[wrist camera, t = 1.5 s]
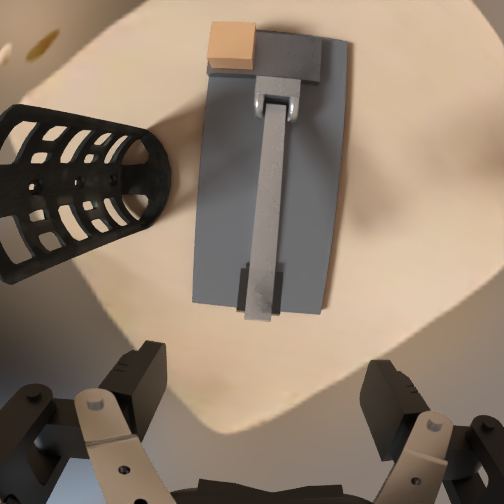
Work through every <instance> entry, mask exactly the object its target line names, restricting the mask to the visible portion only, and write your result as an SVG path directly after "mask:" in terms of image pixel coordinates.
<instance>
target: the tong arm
mask: <svg viewBox="0 0 504 504" xmlns="http://www.w3.org/2000/svg"><path fill="white" fill-rule="evenodd" d="M285 116H286V105H276V104H266V113H265V122H264V132H263V142H262V151H261V161H260V171H259V181H258V190H257V200H256V210H255V220H254V229H253V239H252V249H251V259H250V268H249V269H246V268H241V272H240V281H239V291H238V300H237V309H236V311H237V312H243V313H245V317H244V319H245V320H253V321H264V322H270V321H271V315H275V316H279V315H280V309H281V297H282V284H283V272H277V271H275V265H276V252H277V239H278V226H279V212H280V198H281V183H282V167H283V151H284V134H285Z"/></svg>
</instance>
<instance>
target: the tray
mask: <svg viewBox="0 0 504 504" xmlns="http://www.w3.org/2000/svg"><path fill="white" fill-rule="evenodd" d="M256 32H264V33H277V34H287V35H296V36H304V37H311V38H318V39H322V44H321V66H320V82H319V84H318V85H317V86H315V85H307V84H300V97H299V109H298V116H297V121H296V123H294V122H287V113H288V105H286V116H285V134H284V151H283V167H282V183H281V198H280V212H279V226H278V239H277V252H276V265H275V266H276V271H277V272H283V284H282V297H281V309H280V311H281V312H293V313H306V314H321V308H322V302H323V296H324V290H325V284H326V278H327V271H328V265H329V258H330V251H331V244H332V236H333V229H334V221H335V213H336V204H337V196H338V186H339V176H340V166H341V155H342V143H343V130H344V115H345V97H346V74H347V42H346V41H341V40H335V39H330V38H324V37H317V36H310V35H303V34H295V33H286V32H275V31H262V30H256ZM255 86H256V79H244V78H221V77H209V82H208V90H207V99H206V108H205V117H204V127H203V137H202V148H201V159H200V171H199V183H198V197H197V212H196V228H195V247H194V269H193V297H192V302H193V303H202V304H210V305H219V306H229V307H237V300H238V291H239V281H240V272H241V268H246V263H249V264H250V259H251V249H252V239H253V229H254V220H255V210H256V200H257V190H258V181H259V171H260V161H261V151H262V142H263V132H264V122H265V113H266V104H274V103H264V107H263V116H262V119H253V109H254V97H255ZM276 105H284V104H276Z"/></svg>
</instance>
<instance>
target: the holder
mask: <svg viewBox="0 0 504 504" xmlns="http://www.w3.org/2000/svg"><path fill="white" fill-rule="evenodd" d="M22 121H28V122H37V123H36V125H35V127H34V128H33V129H32V130H31V131H30V133H29V134H28V136H27V137H26V139H25V140H24V142H23V144H22V146H21V148H20V150H19V152H18V154H17V156H16V159H15V161H14V162H13V163H12V164H10V165H0V218H1V217H6V216H11V215H12V217H13V218H14V220H15V223H16V225H17V228H18V230H19V233H20V235H21V237H22V239H23V241H24V243H25V245H26V247H27V248H28V250H29V251H30V253H31V254H32V258H31V259H29V260H26V261H24V262H21V263H19V264H14V263H13V262H12V261H11V260H10V259H9V257H8V255H7V254H6V252H5V250H4V248H3V246H2V244H1V242H0V279H1V281H2V282H4V283H7V284H11V285H13V284H15V283H17V282H19V281H21V280H23V279H26V278H28V277H30V276H32V275H34V274H37V273H39V272H41V271H43V270H46V269H48V268H50V267H53V266H55V265H57V264H60V263H62V262H65V261H67V260H69V259H72V258H74V257H76V256H79V255H81V254H84V253H86V252H88V251H91V250H93V249H96V248H98V247H101V246H103V245H106V244H108V243H111V242H113V241H116V240H118V239H121V238H123V237H126V236H128V235H131V234H134V233H136V232H139V231H142V230H145V229H147V228H149V227H150V226H151V225H152V224H153V223H154V222H155V221H156V220H157V218H158V217H159V215H160V214H161V212H162V211H163V209H164V207H165V205H166V202H167V199H168V195H169V191H170V183H171V169H170V165H169V161H168V156H167V154H166V152H165V150H164V148H163V146H162V144H161V143H160V141H159V140H158V139H157V138H156V136H154V135H153V134H152V133H151V132H150V131H148V130H146V129H142V128H138V127H133V126H129V125H124V124H119V123H115V122H110V121H105V120H100V119H95V118H91V117H86V116H82V115H77V114H72V113H67V112H62V111H56V110H51V109H46V108H41V107H35V106H29V105H23V104H16V105H12V106H11V107H9V108H8V109H7V110H6V111H4V112H3V113H2V114H1V115H0V149H1V147H2V145H3V143H4V141H5V139H6V138H7V136H8V135H9V133H10V132H11V130H12V129H13V128H14V127H15V126H16V125H18V124H19V123H21V122H22ZM55 126H65V127H67V128H66V129H65V130H64V131H63V133H62V134H61V135H60V136H59V137H58V138H57V139H55V140H54V141H45V140H42V139H43V136H44V135H45V134H46V133H47V132H48V130H49V129H51V128H53V127H55ZM82 130H92V131H91V132H90V133H89V134H88V135H87V136H86V137H85V139H84V140H83V141H82V142H81V144H80V145H79V146H78V148H77V149H76V151H75V153H74V155H73V157H72V159H71V161H70V162H68V163H60V158H61V156H62V154H63V151H64V149H65V148H66V146H67V145H68V143H69V142H70V141H71V139H72V138H73V137H74V136H75V135H76V134H77V133H78V132H80V131H82ZM106 133H112V134H111V135H110V136H109V137H108V138H107V139H106V140H105V141H104V142H103V143H102V144H101V145H95V144H94V143H95V141H96V140H97V139H98V138H99V137H100V136H101V135H103V134H106ZM125 135H126V136H128V137H127V138H126V139H125V140H124V141H123V142H122V143H121V144H120V146H119V147H118V148H117V150H116V151H115V153H114V155H113V156H112V158H111V160H110V162H109V163H108V164H105V163H104V160H105V157H106V155H107V153H108V151H109V150H110V148H111V147H112V146H113V144H114V143H115V142H116V141H117V140H118V139H119V138H121V137H122V136H125ZM138 139H140V140H141V141H142V143H143V145H144V146H145V148H146V150H147V151H148V153H149V159H148V162H146V163H145V164H138V165H128V166H122V165H121V163H122V160H123V157H124V155H125V153H126V152H127V150H128V149H129V147H130V146H131V145H132V144H133V143H134V142H135V141H136V140H138ZM38 152H45V153H47V154H48V155H47V157H46V160H45V161H44V162H43V163H31V159H32V156H33V155H34V154H35V153H38ZM88 154H94V157H93V160H92V162H91V163H84V160H85V157H86V155H88ZM75 180H77V184H76V185H75ZM30 184H34V190H29V185H30ZM123 194H139V195H146V196H147V198H148V199H149V200H148V206H147V208H146V209H145V211H144V213H143V215H142V216H141V218H140V219H139V221H138V220H137V219H135V218H134V217H133V216H132V215H131V214H130V213H129V211H128V210H127V209H126V207H125V205H124V203H123V201H122V197H121V195H123ZM105 198H109V199H110V201H111V203H112V205H113V207H114V209H115V210H116V212H117V213H118V214H119V216H120V217H121V218H122V219H123V220H124V221H125V222H126V223H127V225H125V226H120V225H119V224H118V223H116V222H115V221H114V220H113V218H112V217H111V216H110V214H109V213H108V211H107V209H106V207H105V204H104V202H103V201H104V199H105ZM86 201H91V203H92V206H93V209H91V210H84V208H83V202H86ZM63 205H69V206H70V209H71V211H72V214H73V216H74V217H75V219H76V221H77V222H78V224H79V226H80V227H81V228H82V230H83V231H84V232H85V233H86V234H87V236H88V238H86V239H83V240H81V241H78V240H76V239H74V238H73V237H72V236H71V235H70V233H69V232H68V231H67V229H66V227H65V226H64V224H63V223H62V221H61V218H60V215H59V212H58V209H59V207H60V206H63ZM41 209H42V210H43V212H44V218H45V219H44V220H40V221H36V222H32V221H31V220H30V217H29V214H30V213H32V212H34V211H36V210H41ZM95 219H100V220H101V221H102V222H103V223H104V224H105V225H106V226H107V227H108V229H109V231H106V232H103V233H102V232H100V231H98V230H97V229H96V228H95V227H94V226H93V224H92V222H91V221H92V220H95ZM47 232H52V233H54V234H55V236H56V237H57V238H58V240H59V242H60V244H61V245H62V247H61V248H58V249H55V250H52V251H49V250H47V249H45V247H44V246H43V245H42V243H40V240H39V237H38V236H39V235H40V234H43V233H47Z"/></svg>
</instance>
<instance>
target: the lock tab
mask: <svg viewBox="0 0 504 504" xmlns="http://www.w3.org/2000/svg"><path fill="white" fill-rule="evenodd" d="M255 45H256V23H250V22H212V25H211V32H210V38H209V45H208V52H207V59H208V61H209V63H210V65H211V67H212V68H228V69H249V70H253V64H254V55H255Z"/></svg>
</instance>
